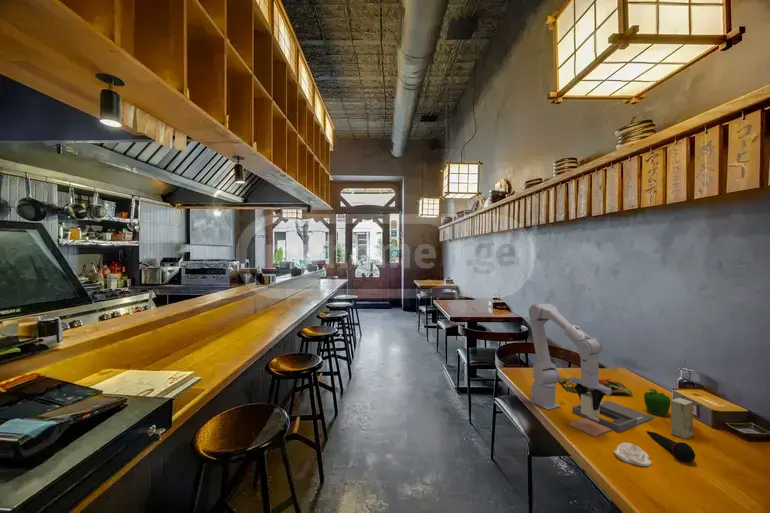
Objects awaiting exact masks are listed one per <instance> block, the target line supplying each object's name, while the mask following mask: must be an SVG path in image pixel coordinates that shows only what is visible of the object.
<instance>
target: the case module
mask: <svg viewBox="0 0 770 513" xmlns="http://www.w3.org/2000/svg"><path fill="white" fill-rule="evenodd" d="M580 404H581V413H582V414H585V415H587V416H589V417H594V416H600V415H601V414H600V406H599V410H594V409H593V398H592V394H591V392H587V393H584V394H581V401H580Z"/></svg>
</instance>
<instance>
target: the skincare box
mask: <svg viewBox="0 0 770 513" xmlns="http://www.w3.org/2000/svg"><path fill="white" fill-rule="evenodd" d="M693 403H694V402H693V401H691V400H688V399H684V398H680V397H676V398H674V399H672V400H671V399H670V434H671V435H674V436H676V437H679V438H682V439H684V440H686V439H688V438H691V437H692V436H694V430H693V429H694V428H693V427H694V420H693V419H694V417H693V413H694V412H693V409H694V406H693Z"/></svg>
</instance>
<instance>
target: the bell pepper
mask: <svg viewBox="0 0 770 513" xmlns="http://www.w3.org/2000/svg"><path fill="white" fill-rule="evenodd" d="M648 390H649V392H644V394H643V400H644V403H645V406H646V410H647V411H648V412H649V414H653V415H658V416H662V417H665V416H667V415H668V414H669V411H670V409H671V398H670V397H669V396H667V395H666V394H665V393H664V392H660V393H659V392H658V390H656V389H655V388H651V387H650V388H648Z"/></svg>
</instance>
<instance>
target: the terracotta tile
mask: <svg viewBox="0 0 770 513" xmlns="http://www.w3.org/2000/svg"><path fill="white" fill-rule="evenodd" d="M568 426H570V427H573V428H574V429H577V430H579V431H581V432H583V433H585V434H587V435H590V436H591V437H594V438H598V437H600V436H602V435H605V434H608V433H611V432H613V430H612V429H610V428H608V427H605V426H603V425H601V424H598V423H596V422H594V421H591V420H589V419H587V418H584V417H583V418H581V419H578V420H575V421H572V422H569V423H568Z"/></svg>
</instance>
